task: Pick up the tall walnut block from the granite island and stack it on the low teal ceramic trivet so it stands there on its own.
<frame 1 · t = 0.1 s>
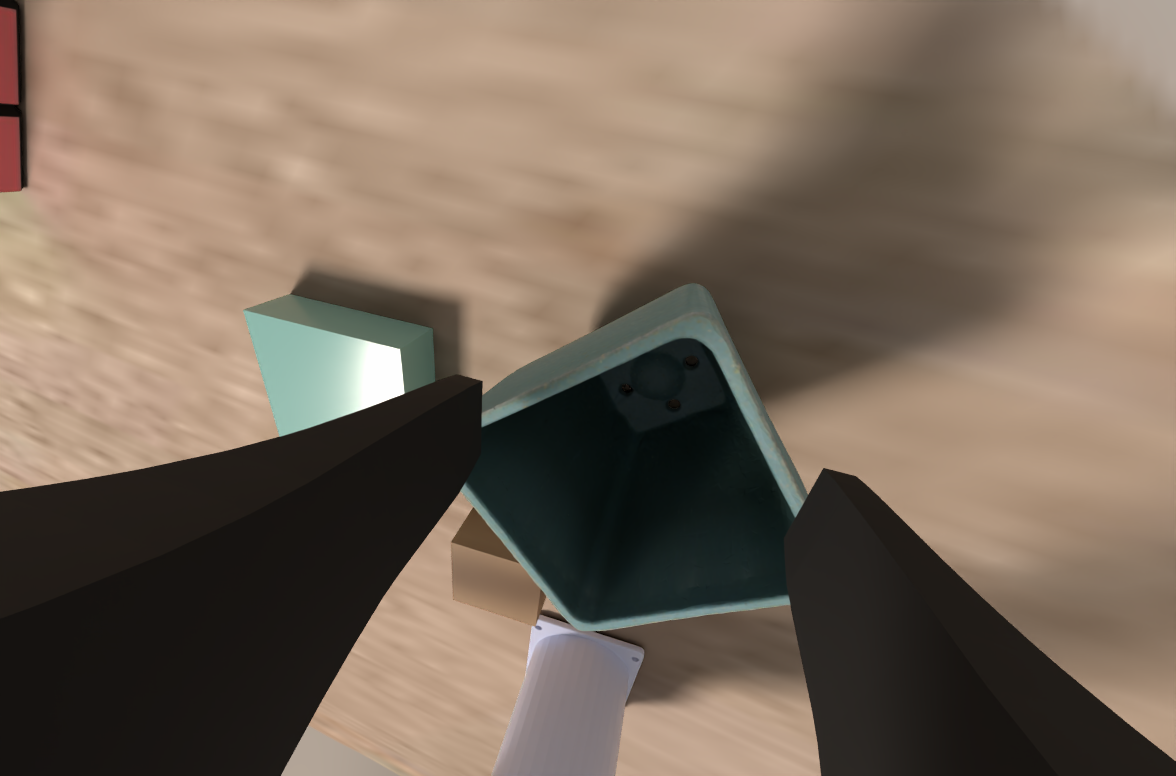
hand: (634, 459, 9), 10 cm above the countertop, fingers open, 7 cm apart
flower pot: (656, 369, 19), on the countertop
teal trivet: (373, 376, 24), on the countertop
walnut block: (533, 505, 25), on the countertop
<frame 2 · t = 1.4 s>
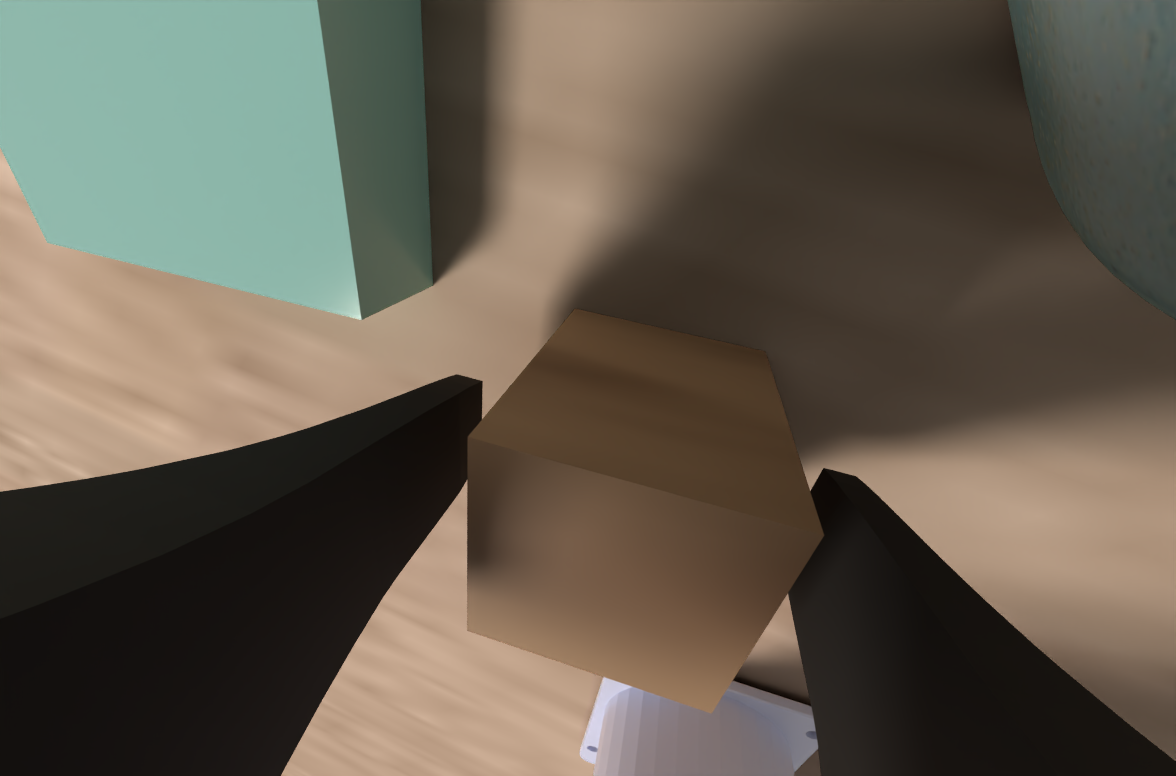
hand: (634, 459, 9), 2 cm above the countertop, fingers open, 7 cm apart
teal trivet: (272, 72, 10), on the countertop
walnut block: (646, 408, 11), on the countertop
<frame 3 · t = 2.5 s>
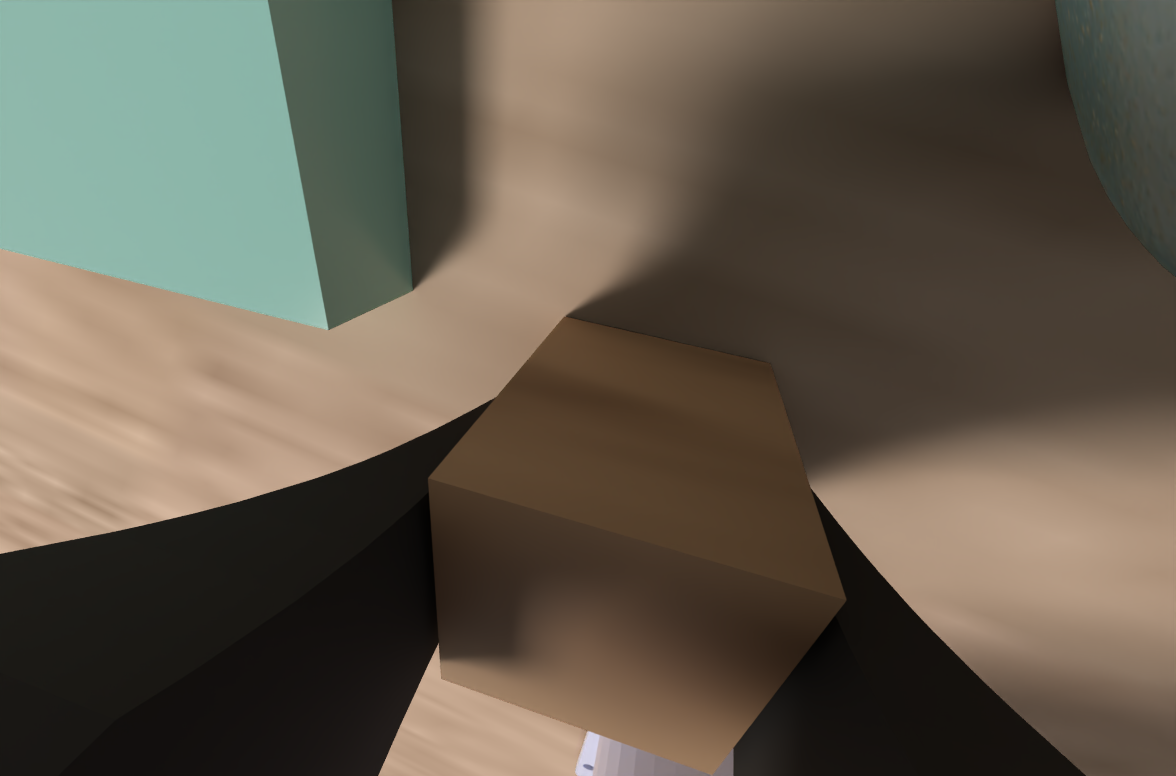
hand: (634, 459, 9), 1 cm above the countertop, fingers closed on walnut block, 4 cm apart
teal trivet: (235, 60, 9), on the countertop
walnut block: (642, 423, 10), on the countertop, touching gripper
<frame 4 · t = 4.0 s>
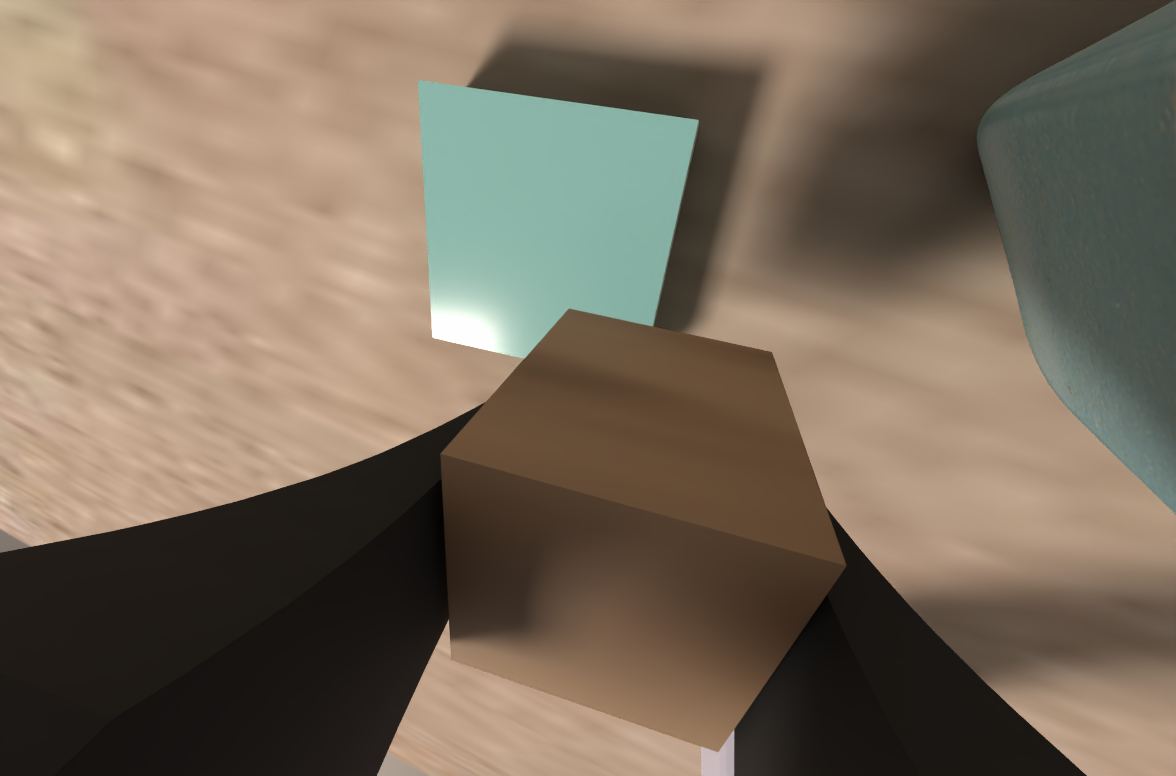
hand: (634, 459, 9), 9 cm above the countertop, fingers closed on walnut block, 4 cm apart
flower pot: (1104, 166, 12), on the countertop
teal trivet: (566, 234, 16), on the countertop
walnut block: (646, 413, 10), point 7 cm above the countertop, touching gripper
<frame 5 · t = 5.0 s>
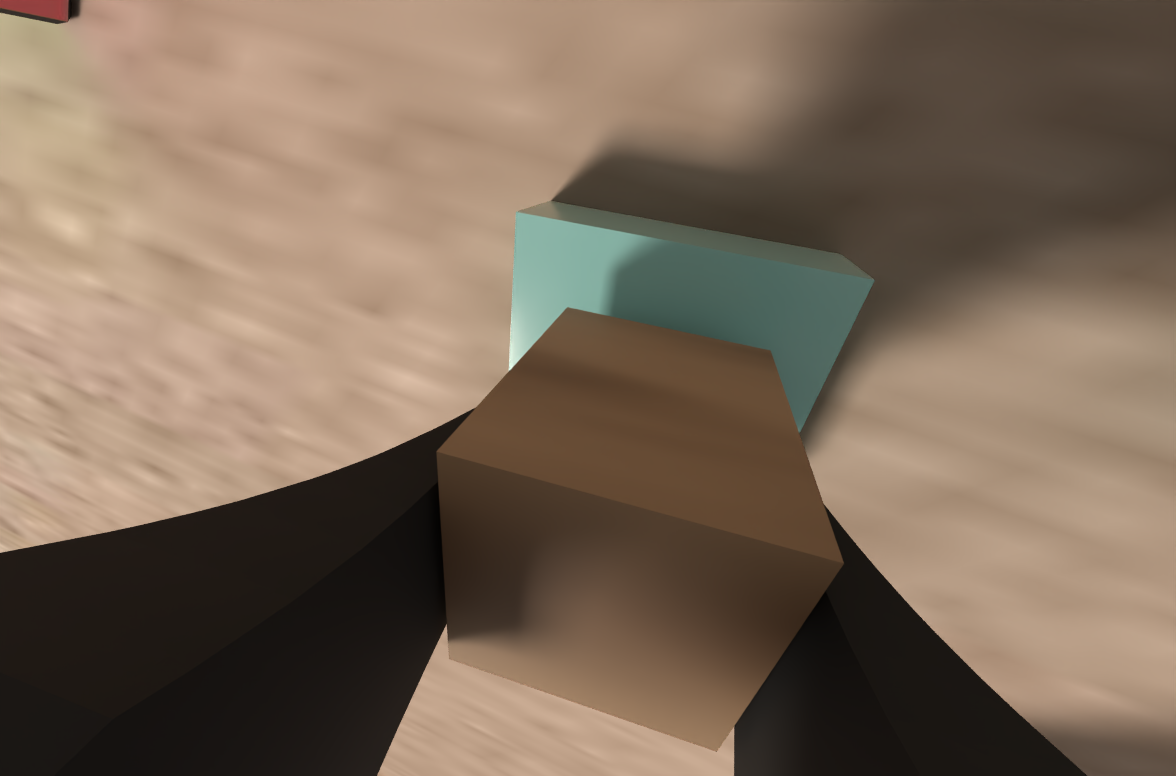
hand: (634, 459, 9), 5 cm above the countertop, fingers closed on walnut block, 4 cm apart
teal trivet: (658, 350, 14), on the countertop
walnut block: (645, 412, 10), point 4 cm above the countertop, touching gripper
when the fingers open (5 cm above the countertop, at t = 5.7 s): walnut block drops 1 cm, resting on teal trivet.
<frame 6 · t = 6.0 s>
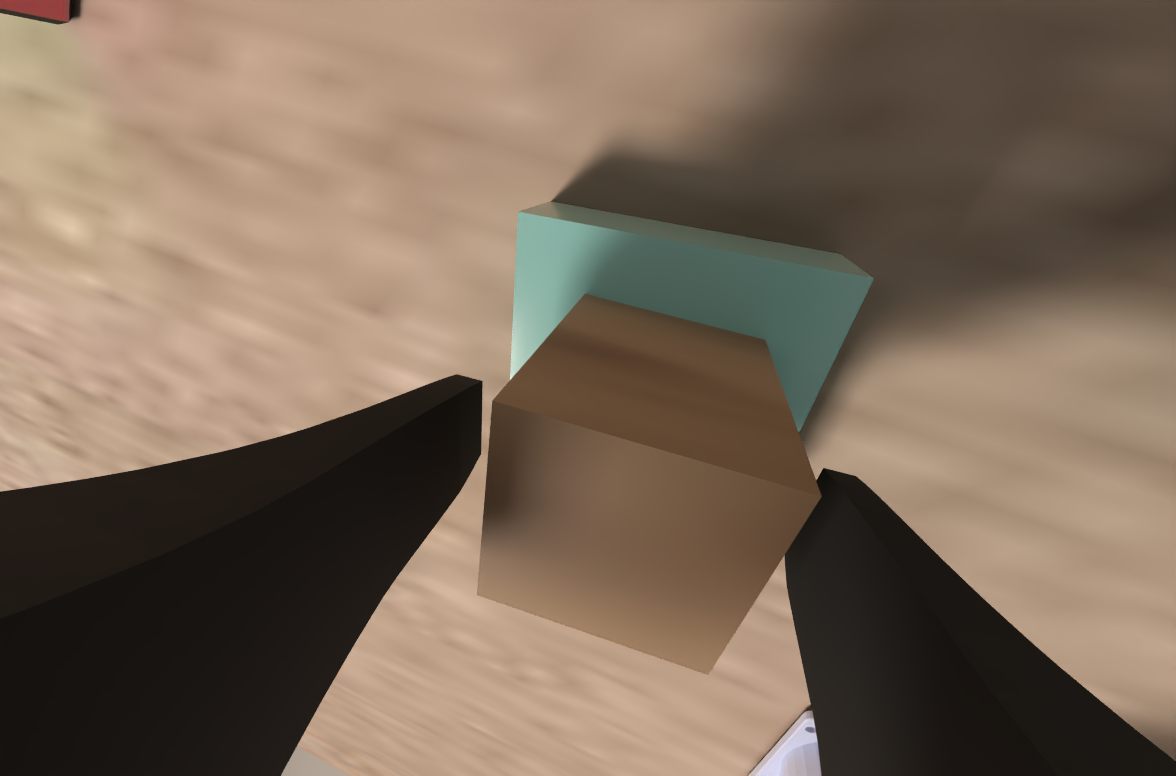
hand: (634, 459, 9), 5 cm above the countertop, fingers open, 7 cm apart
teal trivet: (658, 350, 14), on the countertop, touching walnut block
walnut block: (649, 393, 11), point 3 cm above the countertop, touching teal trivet
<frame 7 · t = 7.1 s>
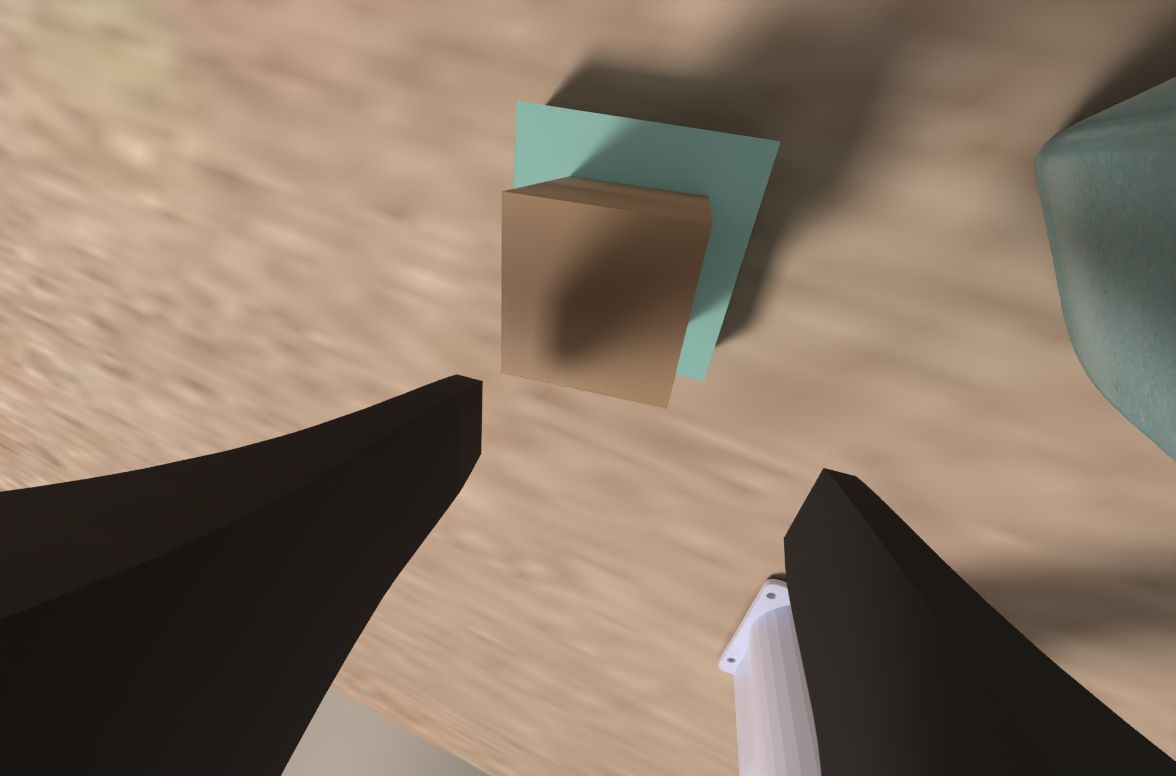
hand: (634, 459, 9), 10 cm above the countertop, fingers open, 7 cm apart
flower pot: (1145, 185, 13), on the countertop
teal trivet: (632, 239, 17), on the countertop
walnut block: (626, 257, 15), point 3 cm above the countertop
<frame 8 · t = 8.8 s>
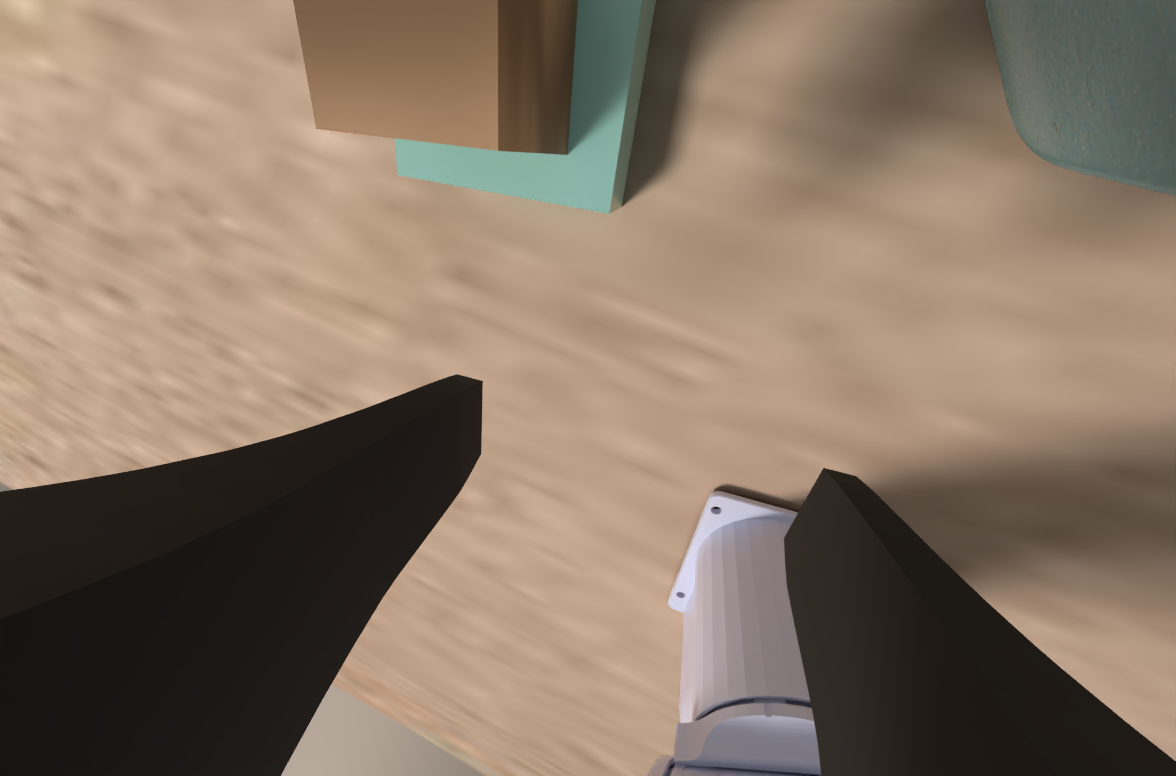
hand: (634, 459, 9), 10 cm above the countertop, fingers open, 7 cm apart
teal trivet: (537, 70, 16), on the countertop
walnut block: (503, 63, 13), point 3 cm above the countertop
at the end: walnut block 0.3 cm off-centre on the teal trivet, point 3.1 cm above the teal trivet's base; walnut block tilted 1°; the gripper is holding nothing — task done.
